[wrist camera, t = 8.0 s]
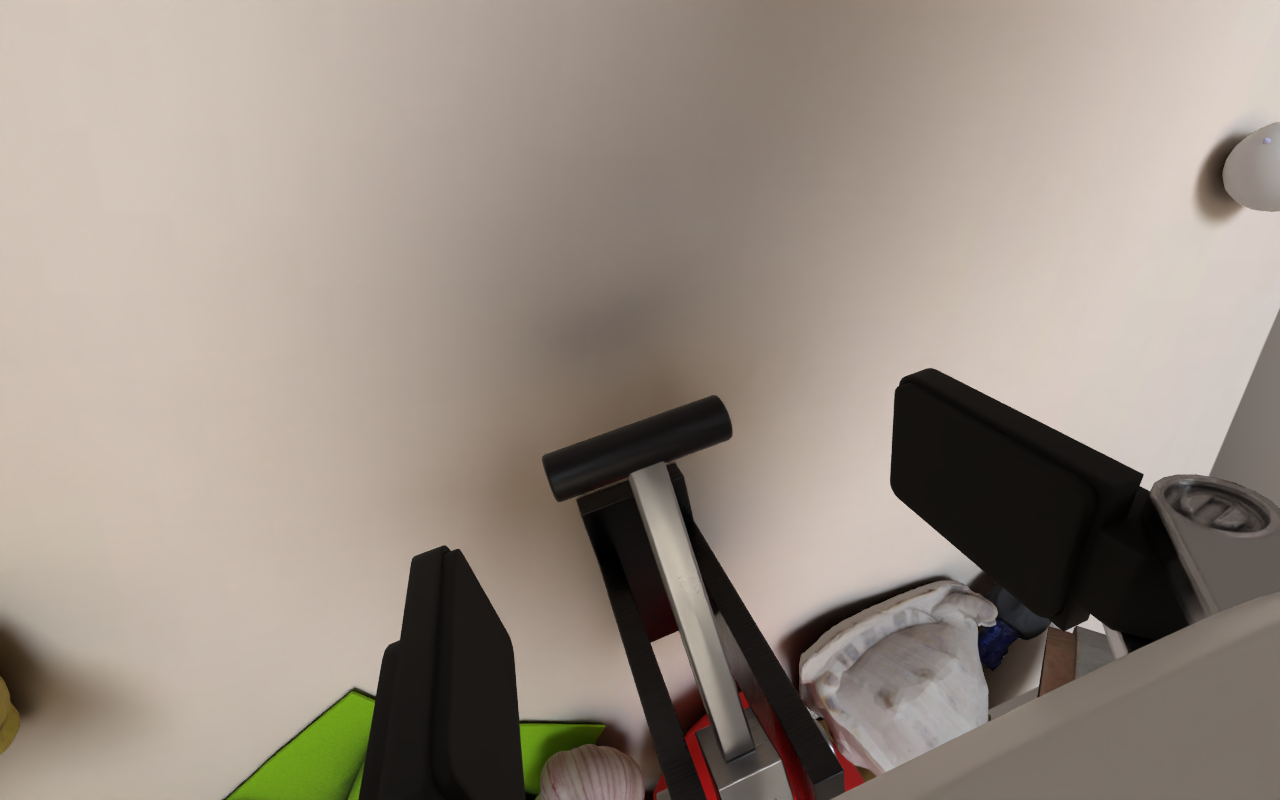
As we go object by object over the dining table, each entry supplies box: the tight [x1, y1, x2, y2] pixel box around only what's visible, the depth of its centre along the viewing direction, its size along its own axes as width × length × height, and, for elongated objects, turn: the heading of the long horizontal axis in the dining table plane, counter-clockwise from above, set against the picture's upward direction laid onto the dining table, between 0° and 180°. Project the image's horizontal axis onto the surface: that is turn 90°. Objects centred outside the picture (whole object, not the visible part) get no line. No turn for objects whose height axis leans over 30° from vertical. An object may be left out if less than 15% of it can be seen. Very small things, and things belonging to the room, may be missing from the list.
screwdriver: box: [978, 583, 1051, 671], centre depth 33 cm, size 26×4×4 cm
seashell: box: [799, 580, 998, 777], centre depth 31 cm, size 12×14×10 cm
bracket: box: [577, 463, 845, 800], centre depth 21 cm, size 10×6×13 cm, turn 13°
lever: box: [542, 395, 794, 800], centre depth 16 cm, size 14×6×2 cm, turn 13°
